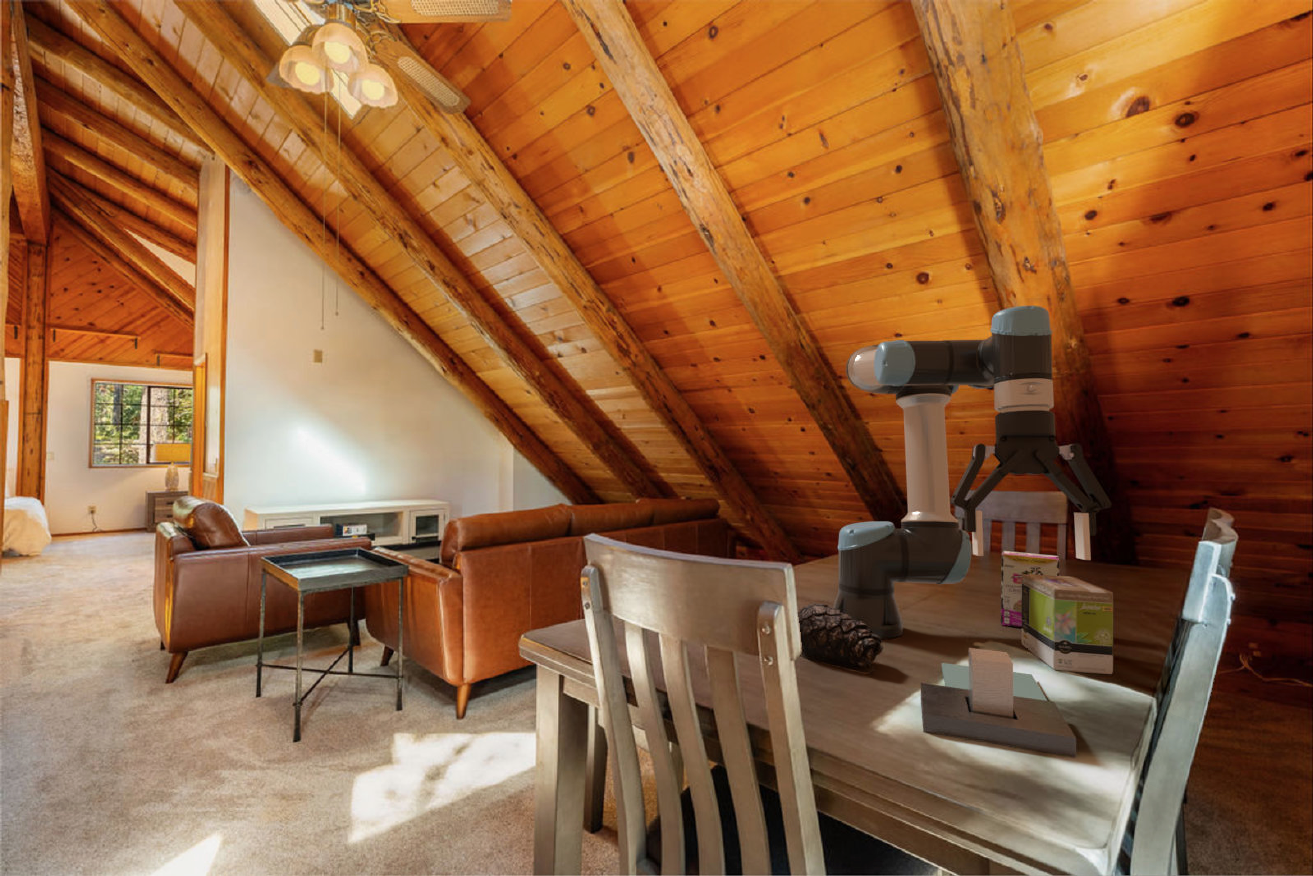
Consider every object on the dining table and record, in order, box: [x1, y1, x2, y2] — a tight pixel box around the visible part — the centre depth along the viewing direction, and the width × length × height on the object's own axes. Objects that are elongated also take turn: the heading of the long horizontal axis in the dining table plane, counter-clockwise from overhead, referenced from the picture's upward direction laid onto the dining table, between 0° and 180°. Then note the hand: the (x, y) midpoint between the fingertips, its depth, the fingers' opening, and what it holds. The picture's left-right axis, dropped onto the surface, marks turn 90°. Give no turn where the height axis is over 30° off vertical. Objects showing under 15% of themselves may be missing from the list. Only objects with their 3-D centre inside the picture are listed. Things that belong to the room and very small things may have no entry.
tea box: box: [1020, 574, 1114, 675], centre depth 114 cm, size 15×10×15 cm, turn 168°
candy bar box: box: [1000, 550, 1061, 628], centre depth 134 cm, size 11×5×16 cm, turn 58°
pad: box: [941, 662, 1048, 701], centre depth 100 cm, size 14×12×1 cm
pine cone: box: [797, 602, 884, 674], centre depth 113 cm, size 10×18×10 cm, turn 50°
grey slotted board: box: [920, 682, 1077, 758], centre depth 86 cm, size 18×12×2 cm, turn 68°
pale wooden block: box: [968, 647, 1014, 719], centre depth 86 cm, size 5×5×10 cm
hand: (1029, 557), depth 86 cm, fingers open, 13 cm apart
